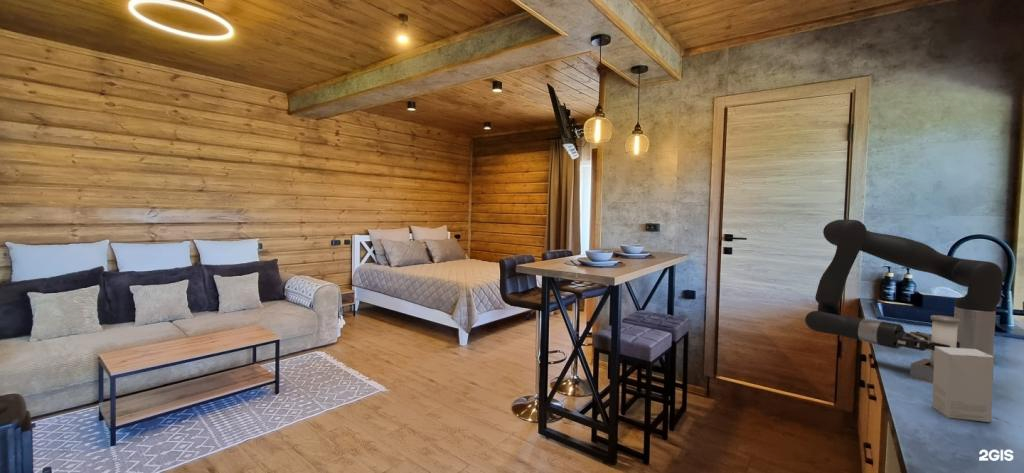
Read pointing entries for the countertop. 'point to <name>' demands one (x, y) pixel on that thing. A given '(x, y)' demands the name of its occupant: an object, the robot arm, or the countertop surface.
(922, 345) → the robot arm
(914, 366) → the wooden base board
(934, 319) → the plug
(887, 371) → the countertop surface
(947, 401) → the skincare box
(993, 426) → the countertop surface
